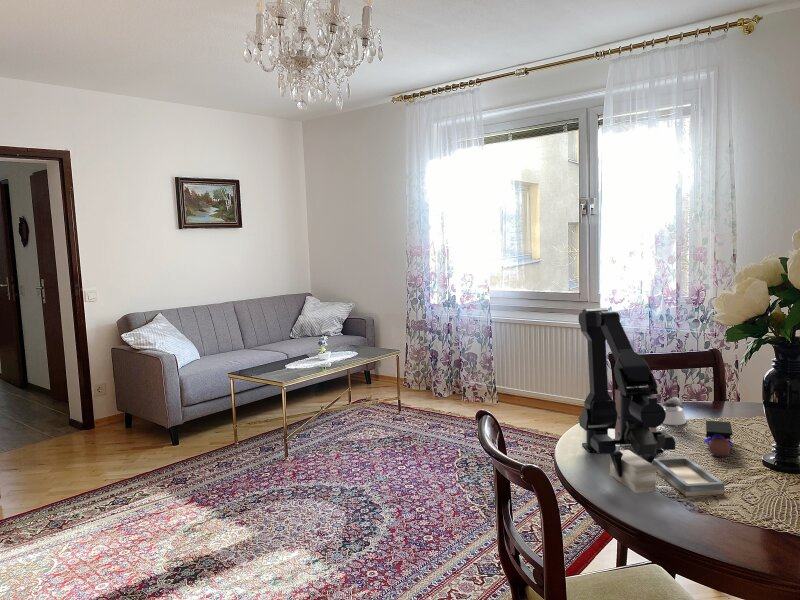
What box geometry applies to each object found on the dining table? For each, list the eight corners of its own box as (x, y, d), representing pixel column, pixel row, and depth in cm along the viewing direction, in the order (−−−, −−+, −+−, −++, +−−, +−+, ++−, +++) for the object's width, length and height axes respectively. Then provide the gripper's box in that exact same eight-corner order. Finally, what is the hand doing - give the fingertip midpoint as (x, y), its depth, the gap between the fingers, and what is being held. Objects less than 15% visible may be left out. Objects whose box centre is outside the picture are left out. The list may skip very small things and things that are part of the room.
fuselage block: (610, 474, 147) (610, 452, 147) (628, 472, 148) (628, 449, 148) (636, 493, 137) (636, 469, 136) (655, 490, 138) (655, 466, 137)
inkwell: (680, 416, 189) (681, 385, 187) (701, 435, 171) (701, 402, 170) (650, 415, 190) (650, 386, 189) (667, 435, 172) (668, 402, 171)
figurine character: (703, 443, 169) (705, 456, 155) (703, 416, 169) (705, 428, 155) (730, 446, 166) (734, 460, 152) (730, 419, 166) (735, 430, 152)
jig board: (652, 468, 150) (652, 458, 150) (686, 466, 150) (686, 456, 150) (686, 496, 134) (686, 486, 134) (724, 493, 135) (724, 483, 134)
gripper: (608, 427, 132) (608, 493, 134) (688, 422, 133) (687, 488, 135) (589, 412, 143) (589, 473, 145) (664, 407, 144) (663, 468, 146)
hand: (632, 475), depth 142 cm, fingers open, 6 cm apart
